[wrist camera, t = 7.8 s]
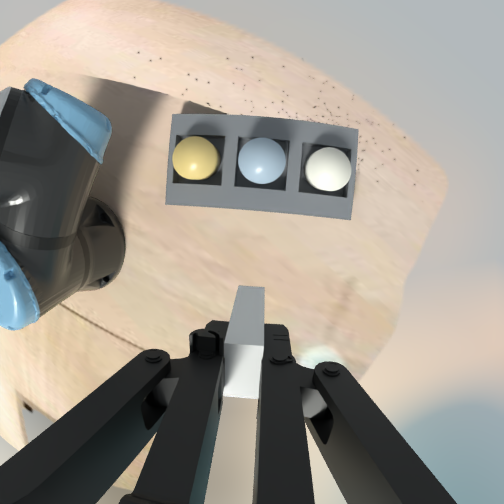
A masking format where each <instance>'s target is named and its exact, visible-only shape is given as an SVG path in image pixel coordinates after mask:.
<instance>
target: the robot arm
mask: <svg viewBox="0 0 504 504" xmlns="http://www.w3.org/2000/svg"><path fill="white" fill-rule="evenodd" d="M111 134H112V126H111V122H110V121H109V119H108V118H107V117H106V116H105V115H104V114H102V113H101V112H99V111H97V110H96V109H94V108H93V107H91V106H89V105H87V104H86V103H84V102H82V101H80V100H79V99H77V98H75V97H73V96H71V95H69V94H67V93H65V92H63V91H61V90H59V89H57V88H54V87H53V86H51V85H48V84H46V83H45V82H43V81H40V80H38V79H34V78H32V79H30V80H29V81H28V82H27V83H26V84H25V85H24V90H19V89H16V88H12V87H7V88H6V89H4V90H2V91H1V92H0V326H1V327H3V328H6V329H8V330H19V329H22V328H23V327H25V326H27V325H29V324H31V323H35V322H36V321H37V320H38V319H39V318H40V317H41V316H42V315H44V314H45V313H46V312H48V311H49V310H51V309H52V308H54V307H55V306H56V305H58V304H59V303H61V302H62V301H64V300H65V299H67V298H68V297H70V296H71V295H73V294H74V293H75V292H77V291H91V290H97V289H100V288H103V287H105V286H106V285H108V284H109V283H111V282H112V281H113V280H114V279H115V278H116V277H117V275H118V274H119V272H120V270H121V268H122V265H123V262H124V257H125V240H124V235H123V231H122V228H121V225H120V223H119V221H118V219H117V217H116V216H115V214H114V213H113V211H112V210H111V209H110V208H109V207H108V206H107V205H106V204H104V203H103V202H102V201H100V200H98V199H96V198H93V197H88V196H89V193H90V190H91V188H92V185H93V182H94V180H95V177H96V175H97V172H98V169H99V167H100V165H102V163H103V155H104V152H105V150H106V147H107V144H108V142H109V139H110V137H111ZM189 341H190V354H189V356H188V357H186V358H181V359H170V355H169V354H168V353H167V352H165V351H163V350H159V349H149V350H145V351H143V352H141V353H140V354H138V355H137V356H136V357H135V358H133V359H132V360H131V361H130V362H129V363H127V364H126V365H125V366H124V367H122V368H121V369H120V370H119V371H118V372H116V373H115V374H114V375H113V376H111V377H110V378H109V379H108V380H107V381H105V382H104V383H103V384H102V385H100V386H99V387H98V388H97V389H95V390H94V391H93V392H92V393H91V394H89V395H88V396H87V397H86V398H84V399H83V400H82V401H81V402H80V403H78V404H77V405H76V406H75V407H73V408H72V409H71V410H70V411H68V412H67V413H66V414H65V415H63V416H62V417H61V418H60V419H59V420H57V421H56V422H55V423H54V424H52V425H51V426H50V427H49V428H47V429H46V430H45V431H44V432H42V433H41V434H40V435H39V436H37V437H36V438H35V439H34V440H32V441H31V442H30V443H29V444H27V445H26V446H25V447H24V448H22V449H21V450H20V451H19V452H18V453H16V454H15V455H14V456H12V457H11V458H10V459H9V460H8V461H6V462H5V463H4V464H2V465H1V466H0V504H96V503H97V502H98V501H99V499H100V498H101V497H102V496H103V495H104V494H105V493H106V491H107V490H108V489H109V488H110V487H111V486H112V485H113V483H114V482H115V481H116V480H117V479H118V478H119V476H120V475H121V474H122V473H123V472H124V471H125V469H126V468H127V467H128V466H129V465H130V464H131V462H132V461H133V460H134V459H135V458H136V456H137V455H138V454H139V453H140V452H141V450H142V449H143V448H144V447H145V446H146V444H147V443H148V442H149V441H150V439H151V438H152V437H153V436H154V435H155V433H156V432H157V433H156V436H155V438H154V441H153V443H152V446H151V448H150V451H149V453H148V456H147V458H146V461H145V463H144V466H143V468H142V471H141V473H140V476H139V478H138V481H137V484H136V486H135V489H134V491H133V492H132V493H131V494H126V495H124V496H123V497H122V498H121V500H120V502H119V504H204V500H205V495H206V490H207V484H208V479H209V473H210V468H211V463H212V457H213V452H214V446H215V441H216V436H217V431H218V425H219V420H220V415H221V409H222V404H223V401H222V400H223V398H222V397H223V395H224V396H230V397H242V398H255V399H258V409H257V431H256V449H255V468H254V487H253V503H252V504H315V502H314V493H313V484H312V475H311V467H310V459H309V451H308V444H307V436H306V428H305V423H306V425H307V427H308V429H309V431H310V433H311V435H312V436H313V439H314V440H315V442H316V444H317V446H318V448H319V450H320V452H321V454H322V456H323V458H324V460H325V462H326V464H327V466H328V468H329V470H330V472H331V474H332V475H333V477H334V479H335V481H336V483H337V485H338V487H339V489H340V491H341V493H342V494H343V496H344V498H345V500H346V502H347V504H457V503H456V502H455V501H454V499H453V498H452V497H451V496H450V495H449V493H448V492H447V491H446V490H445V488H444V487H443V486H442V485H441V483H440V482H439V481H438V480H437V479H436V478H435V476H434V475H433V474H432V472H431V471H430V470H429V469H428V468H427V467H426V465H425V464H424V463H423V461H422V460H421V459H420V458H419V457H418V455H417V454H416V453H415V452H414V450H413V449H412V448H411V447H410V446H409V445H408V443H407V442H406V441H405V439H404V438H403V437H402V436H401V435H400V433H399V432H398V431H397V430H396V428H395V427H394V426H393V425H392V424H391V422H390V421H389V420H388V419H387V417H386V416H385V415H384V414H383V413H382V411H381V410H380V409H379V408H378V406H377V405H376V404H375V403H374V402H373V400H372V399H371V398H370V397H369V395H368V394H367V393H366V392H365V390H364V389H363V388H362V387H361V386H360V384H359V383H358V382H357V381H356V379H355V378H354V377H353V376H352V375H351V373H350V372H349V371H348V370H347V368H345V367H344V366H343V365H341V364H339V363H336V362H322V363H319V364H318V365H316V366H315V369H310V368H306V367H303V366H301V365H298V364H297V363H296V360H295V358H294V357H293V356H292V352H291V345H290V338H289V332H288V329H287V328H286V327H285V326H284V325H280V324H264V287H253V286H238V290H237V294H236V298H235V302H234V306H233V310H232V314H231V318H230V322H226V321H215V320H212V321H211V322H209V323H208V324H206V327H205V329H198V330H195V331H193V332H191V334H190V335H189Z"/></svg>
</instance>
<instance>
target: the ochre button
mask: <svg viewBox="0 0 504 504" xmlns="http://www.w3.org/2000/svg"><path fill="white" fill-rule="evenodd" d="M172 161H173V166H174V168H175V170H176V171H177V173H178V174H179V175H181V176H182V177H184V178H187V179H195V180H203V179H207V178H210V177H211V176H213V175H214V174H215V173H216V172H217V170H218V168H219V166H220V161H221V158H220V153H219V151H218V149H217V148H216V147H215V146H214V145H213V144H211V143H210V142H209V141H208V140H206V139H204V138H202V137H198V136H192V137H188V138H185V139H183V140H182V141H181V142H180V143H179V144H178V145H177V146H176V148H175V149H174V152H173V157H172Z"/></svg>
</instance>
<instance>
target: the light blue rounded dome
mask: <svg viewBox="0 0 504 504" xmlns="http://www.w3.org/2000/svg"><path fill="white" fill-rule="evenodd" d="M238 164H239V168H240V171H241V172H242V174H243V175H244V176H245V177H246V178H247V179H248V180H250V181H252V182H254V183H258V184H266V183H270V182H272V181H274V180H276V179H277V178H278V177H279V176H280V175H281V174H282V172H283V171H284V168H285V164H286V158H285V153H284V151H283V149H282V148H281V146H280V145H279V144H278V143H277V142H275V141H274V140H271V139H269V138H255V139H252V140H250V141H249V142H247V143H246V144H245V145H244V146H243V147H242V149H241V151H240V153H239V157H238Z"/></svg>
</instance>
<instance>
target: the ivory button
mask: <svg viewBox="0 0 504 504" xmlns="http://www.w3.org/2000/svg"><path fill="white" fill-rule="evenodd" d="M303 171H304V176H305V179H306V180H307V182H308V183H309V184H310V185H311V186H312V187H314V188H316V189H319V190H326V191H335V190H339V189H341V188H342V187H344V186H345V185H346V184H347V183H348V181H349V179H350V176H351V164H350V161H349V159H348V157H347V156H346V155H345V154H344V153H343V152H342V151H340V150H338V149H336V148H332V147H326V148H322V149H320V150H318V151H316V152H314V153H313V154H311V155H310V156H309V157H308V158H307V159H306V161H305V163H304V168H303Z"/></svg>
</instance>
